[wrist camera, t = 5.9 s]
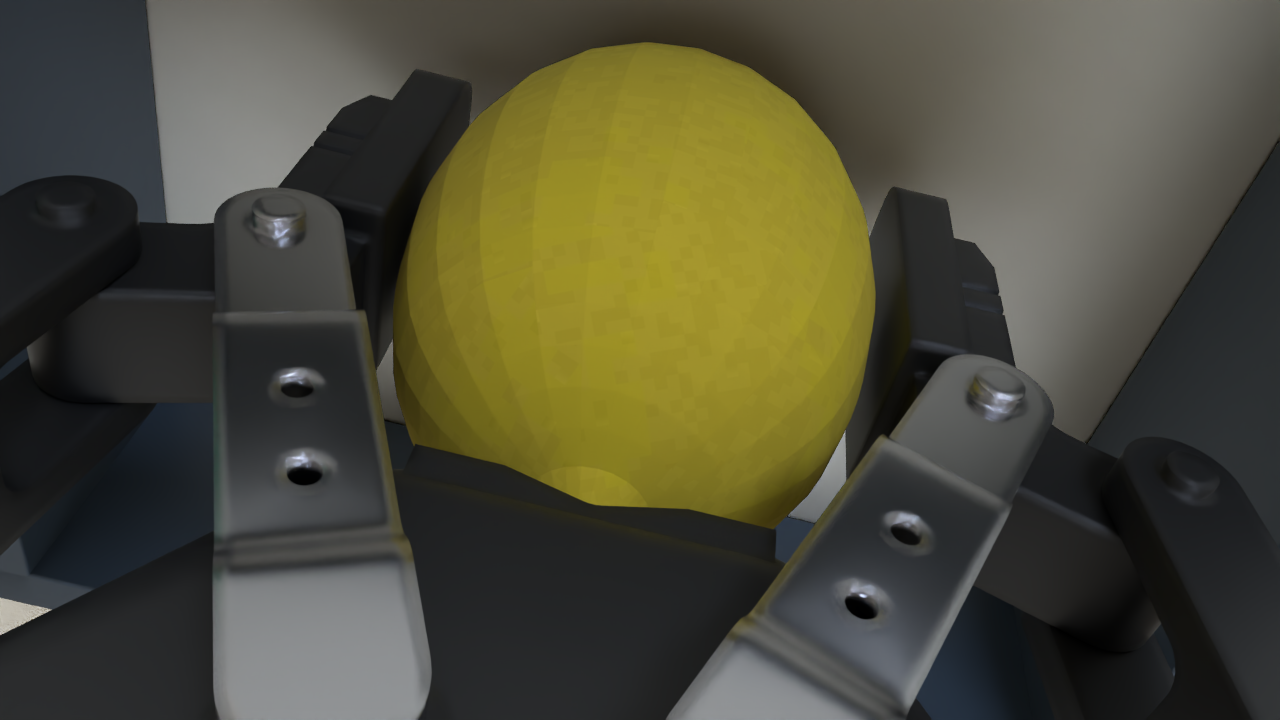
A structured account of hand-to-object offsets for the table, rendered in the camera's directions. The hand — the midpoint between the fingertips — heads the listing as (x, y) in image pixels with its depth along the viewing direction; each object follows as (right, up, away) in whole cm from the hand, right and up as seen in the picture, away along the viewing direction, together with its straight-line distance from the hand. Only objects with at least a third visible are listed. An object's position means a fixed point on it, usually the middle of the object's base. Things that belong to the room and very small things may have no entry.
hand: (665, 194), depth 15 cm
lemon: (0, +1, +1) cm, 2 cm away
